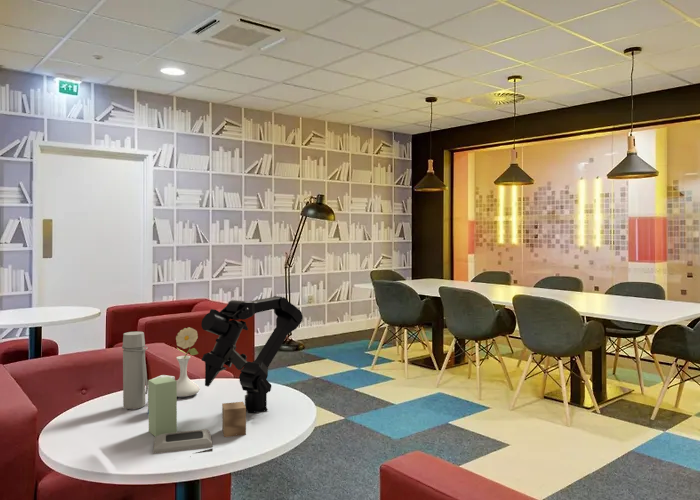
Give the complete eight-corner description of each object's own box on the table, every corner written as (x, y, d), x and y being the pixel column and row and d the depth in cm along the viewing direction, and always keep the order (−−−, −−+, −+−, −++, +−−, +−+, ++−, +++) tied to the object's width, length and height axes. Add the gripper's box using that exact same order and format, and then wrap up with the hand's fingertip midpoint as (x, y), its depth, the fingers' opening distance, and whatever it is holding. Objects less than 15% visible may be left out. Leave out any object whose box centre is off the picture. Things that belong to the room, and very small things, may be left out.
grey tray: (154, 432, 150) (210, 427, 154) (154, 446, 150) (210, 439, 154) (153, 445, 141) (212, 439, 145) (153, 459, 141) (212, 452, 145)
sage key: (169, 426, 160) (168, 376, 160) (176, 432, 156) (176, 380, 155) (148, 431, 157) (148, 379, 156) (155, 437, 152) (155, 384, 151)
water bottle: (117, 408, 180) (116, 334, 180) (134, 402, 187) (134, 330, 187) (138, 412, 177) (138, 336, 176) (155, 405, 184) (155, 332, 183)
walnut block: (243, 431, 160) (243, 401, 160) (245, 438, 154) (245, 407, 154) (222, 434, 158) (222, 403, 158) (224, 441, 152) (224, 409, 152)
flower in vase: (160, 396, 194) (159, 327, 194) (185, 388, 204) (184, 322, 203) (185, 402, 188) (184, 330, 187) (209, 394, 197) (209, 326, 197)
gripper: (246, 348, 161) (224, 398, 158) (255, 349, 179) (235, 394, 176) (212, 334, 161) (190, 383, 158) (224, 336, 180) (204, 380, 177)
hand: (206, 386), depth 167 cm, fingers closed
